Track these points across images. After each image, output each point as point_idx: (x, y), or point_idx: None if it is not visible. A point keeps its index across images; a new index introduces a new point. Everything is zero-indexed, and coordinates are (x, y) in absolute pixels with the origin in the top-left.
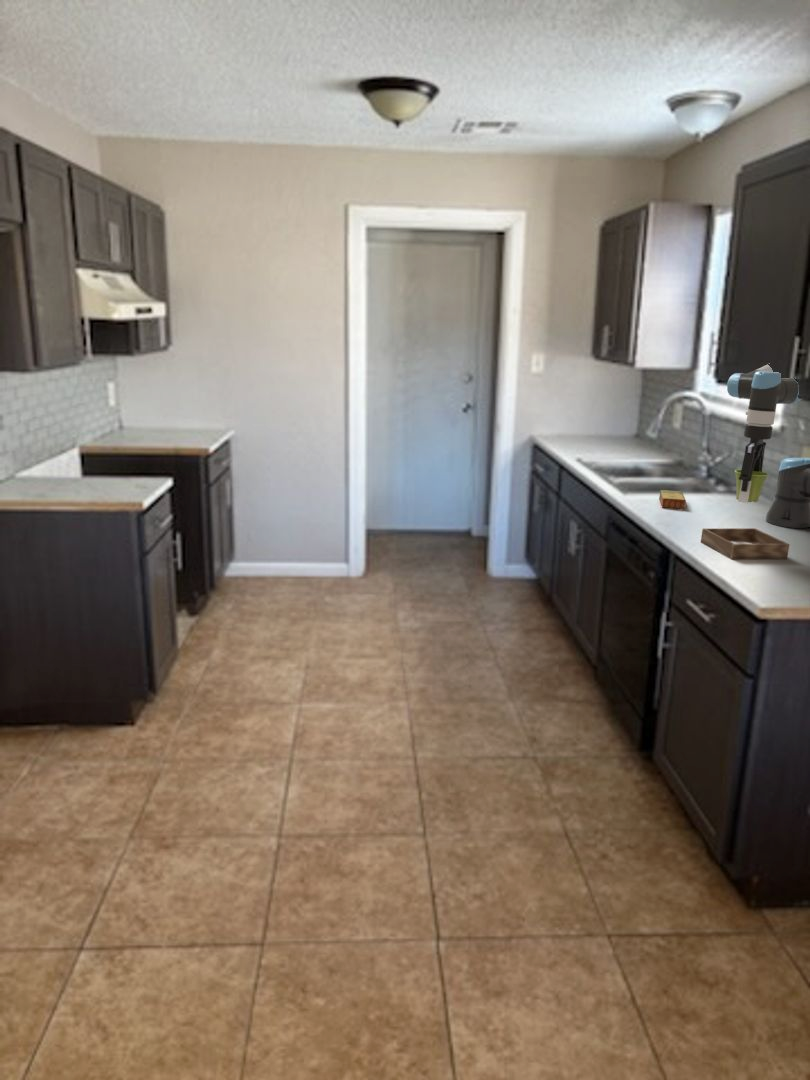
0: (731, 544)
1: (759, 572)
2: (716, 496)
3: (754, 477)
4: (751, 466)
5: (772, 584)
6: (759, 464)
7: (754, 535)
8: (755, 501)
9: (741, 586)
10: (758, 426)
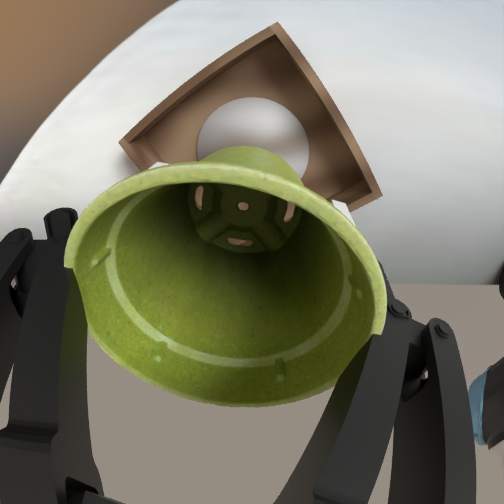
0: (127, 134)
1: (88, 199)
2: None
3: (108, 325)
4: (1, 362)
5: None
6: (312, 438)
7: (361, 188)
8: (212, 244)
9: (12, 182)
10: None
